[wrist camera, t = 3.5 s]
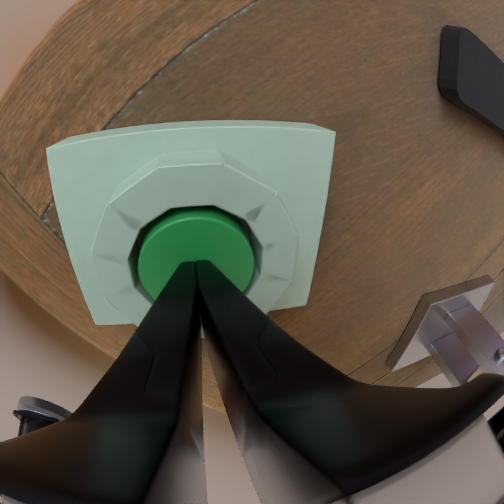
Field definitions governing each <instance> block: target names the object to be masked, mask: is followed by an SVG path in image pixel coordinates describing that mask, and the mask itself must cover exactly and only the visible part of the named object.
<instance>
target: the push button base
mask: <svg viewBox="0 0 504 504" xmlns="http://www.w3.org/2000/svg"><path fill="white" fill-rule="evenodd" d="M335 135H336V132H335V131H332V130H329V129H326V128H323V127H320V126H317V125H314V124H310V123H299V122H284V121H262V120H206V121H184V122H170V123H158V124H148V125H139V126H131V127H123V128H116V129H110V130H103V131H98V132H92V133H87V134H81V135H76V136H72V137H68V138H66V139H64V140H62V141H60V142H58V143H56V144H54V145H52V146H50V147H48V148H46V153H47V160H48V167H49V173H50V179H51V184H52V189H53V194H54V199H55V204H56V208H57V212H58V216H59V220H60V224H61V228H62V232H63V235H64V239H65V242H66V246H67V249H68V252H69V256H70V259H71V262H72V265H73V268H74V271H75V274H76V277H77V279H78V282H79V285H80V288H81V290H82V293H83V296H84V298H85V301H86V303H87V306H88V308H89V310H90V313H91V315H92V318H93V320H94V322H95V324H96V325H117V324H134V325H136V326H137V327H138V326H139V324H140V323H141V321H142V320H143V318H144V317H145V315H146V313H147V312H148V310H149V309H150V307H151V306H152V304H153V303H154V301H155V300H154V299H153V298H152V297H151V296H150V295H149V294H148V293H147V291H146V290H145V288H144V287H143V285H142V283H141V280H140V277H139V272H138V260H139V254H140V250H141V245H142V241H143V236H144V232H145V229H146V226H147V224H148V223H150V222H151V221H153V220H154V219H156V218H157V217H159V216H160V215H162V214H163V213H165V212H166V211H168V210H169V209H171V208H178V207H191V206H205V205H214V206H216V207H218V208H220V209H222V210H225V211H227V212H229V213H231V214H233V215H235V216H237V217H238V219H239V221H240V222H241V225H242V227H243V229H244V232H245V234H246V237H247V239H248V241H249V244H250V246H251V249H252V252H253V256H254V269H253V274H252V277H251V280H250V282H249V284H248V286H247V287H246V289H245V290H244V291H243V293H244V294H245V295H246V296H247V297H248V298H249V299H250V300H251V301H252V302H253V303H254V304H255V305H256V306H257V307H258V308H260V309H261V310H262V311H263V312H264V313H265V314H267V313H268V312H269V311H271V310H278V309H285V308H292V307H299V306H305V305H307V300H308V296H309V291H310V286H311V282H312V277H313V272H314V267H315V262H316V257H317V252H318V246H319V241H320V236H321V230H322V224H323V219H324V213H325V207H326V200H327V194H328V187H329V181H330V174H331V167H332V159H333V151H334V143H335ZM200 318H201V317H200ZM201 327H202V325H201ZM202 338H204V335H203V331H202Z"/></svg>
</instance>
